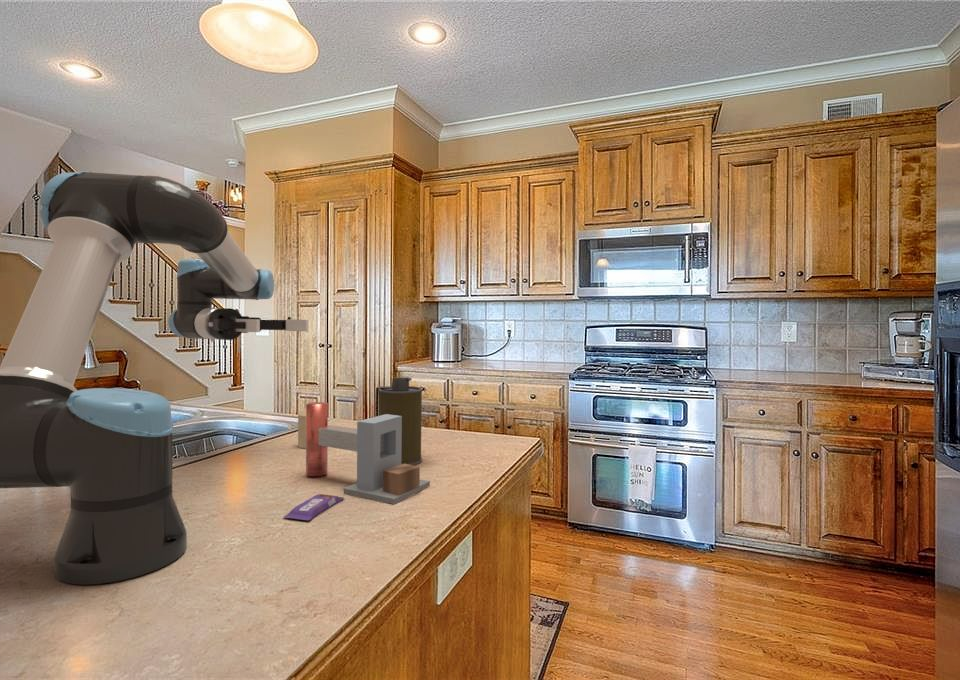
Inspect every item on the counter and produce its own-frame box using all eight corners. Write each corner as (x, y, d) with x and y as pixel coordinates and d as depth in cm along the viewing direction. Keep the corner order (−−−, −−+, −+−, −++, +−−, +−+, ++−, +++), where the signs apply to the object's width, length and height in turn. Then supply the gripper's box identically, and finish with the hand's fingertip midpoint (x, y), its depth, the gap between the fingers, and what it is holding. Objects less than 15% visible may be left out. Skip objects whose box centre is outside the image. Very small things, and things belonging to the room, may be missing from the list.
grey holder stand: (394, 504, 95) (394, 428, 94) (343, 493, 100) (343, 421, 100) (429, 486, 105) (430, 417, 105) (382, 477, 111) (382, 412, 110)
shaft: (371, 488, 102) (372, 412, 101) (301, 474, 110) (301, 404, 110) (385, 482, 106) (386, 409, 105) (316, 469, 114) (316, 401, 114)
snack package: (308, 514, 86) (282, 511, 87) (308, 526, 86) (282, 522, 87) (345, 492, 97) (321, 489, 98) (345, 502, 97) (321, 499, 98)
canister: (425, 456, 128) (426, 375, 127) (416, 468, 118) (417, 380, 117) (382, 454, 129) (383, 374, 128) (369, 466, 119) (370, 379, 118)
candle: (324, 445, 137) (324, 408, 137) (307, 449, 133) (307, 411, 132) (310, 442, 140) (310, 406, 140) (293, 446, 136) (293, 408, 135)
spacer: (382, 491, 99) (398, 495, 97) (383, 470, 99) (398, 474, 96) (404, 483, 104) (419, 487, 102) (404, 463, 104) (419, 466, 101)
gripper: (263, 338, 135) (324, 340, 126) (169, 341, 113) (234, 344, 104) (263, 309, 135) (324, 310, 126) (168, 306, 113) (234, 307, 103)
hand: (284, 325), depth 115 cm, fingers open, 13 cm apart
